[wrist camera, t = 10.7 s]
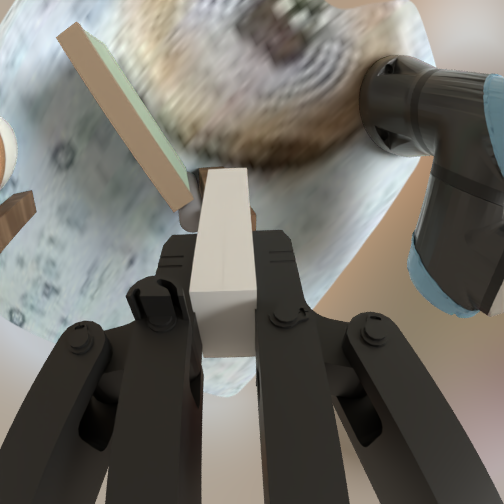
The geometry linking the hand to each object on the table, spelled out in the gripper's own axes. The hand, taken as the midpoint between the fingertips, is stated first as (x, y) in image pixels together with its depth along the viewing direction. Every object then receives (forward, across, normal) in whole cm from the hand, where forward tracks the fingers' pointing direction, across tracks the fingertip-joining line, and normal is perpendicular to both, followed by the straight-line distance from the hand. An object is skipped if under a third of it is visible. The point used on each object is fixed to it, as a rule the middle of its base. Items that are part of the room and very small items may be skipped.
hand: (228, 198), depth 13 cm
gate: (+23, +10, +2) cm, 26 cm away
